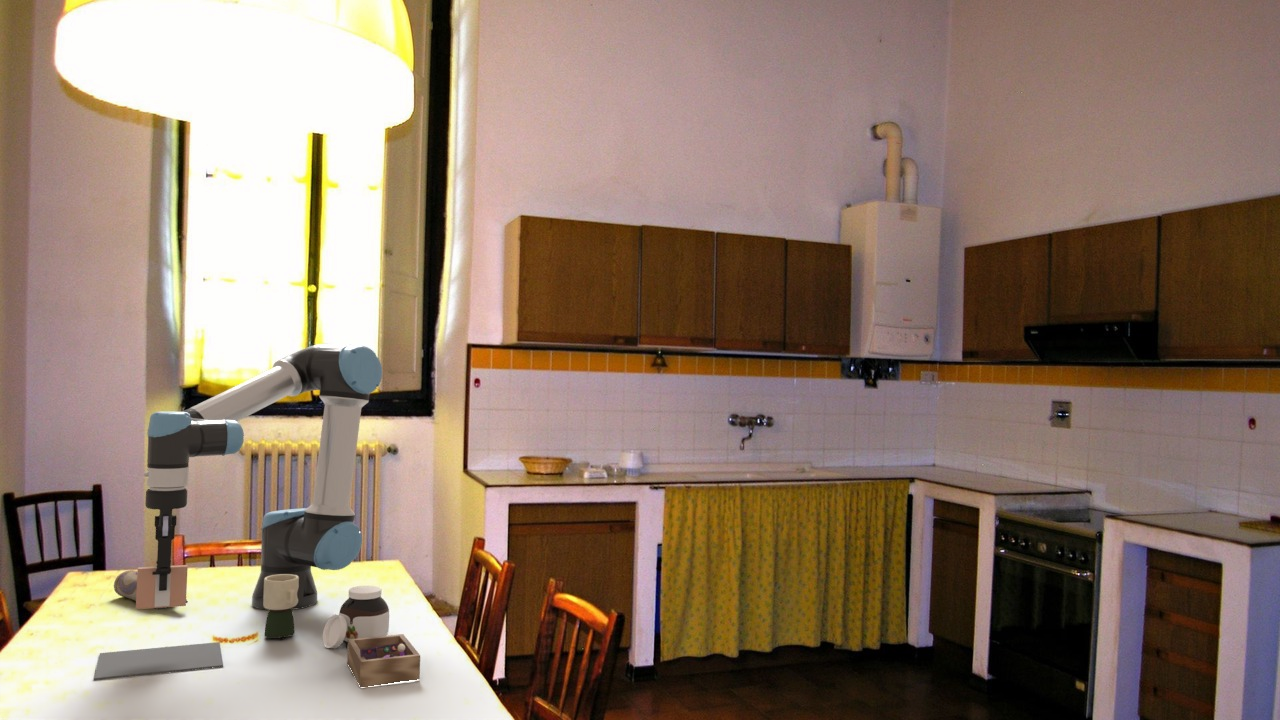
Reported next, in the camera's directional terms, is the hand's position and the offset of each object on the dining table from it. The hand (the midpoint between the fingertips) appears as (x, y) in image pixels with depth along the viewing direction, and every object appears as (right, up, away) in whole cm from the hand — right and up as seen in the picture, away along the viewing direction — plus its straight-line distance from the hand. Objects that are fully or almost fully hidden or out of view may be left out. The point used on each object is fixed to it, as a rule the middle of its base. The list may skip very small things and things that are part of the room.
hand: (162, 604), depth 190 cm
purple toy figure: (+47, -12, -9) cm, 49 cm away
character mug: (+18, -11, +15) cm, 26 cm away
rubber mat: (+2, -10, -3) cm, 11 cm away
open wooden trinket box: (+46, -12, -6) cm, 48 cm away
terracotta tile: (0, 0, 0) cm, 1 cm away
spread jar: (+36, -12, +11) cm, 39 cm away
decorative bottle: (-22, -10, +37) cm, 44 cm away
